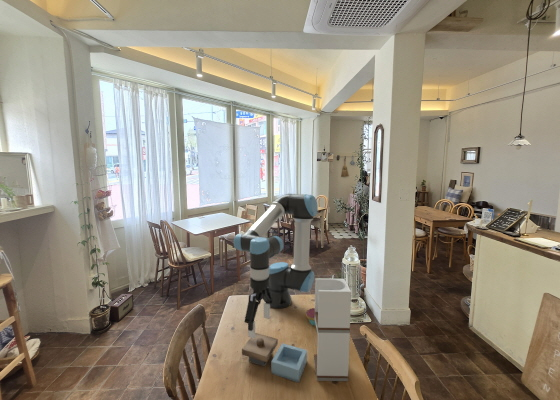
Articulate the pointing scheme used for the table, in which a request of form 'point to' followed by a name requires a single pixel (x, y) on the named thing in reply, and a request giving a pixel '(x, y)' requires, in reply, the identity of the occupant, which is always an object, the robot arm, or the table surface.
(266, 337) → the lid
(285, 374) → the dish
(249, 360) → the block
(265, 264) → the robot arm
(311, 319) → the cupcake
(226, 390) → the table surface
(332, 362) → the white stacked pedestal
